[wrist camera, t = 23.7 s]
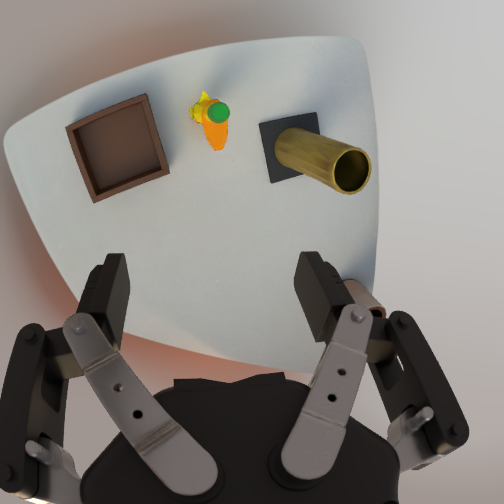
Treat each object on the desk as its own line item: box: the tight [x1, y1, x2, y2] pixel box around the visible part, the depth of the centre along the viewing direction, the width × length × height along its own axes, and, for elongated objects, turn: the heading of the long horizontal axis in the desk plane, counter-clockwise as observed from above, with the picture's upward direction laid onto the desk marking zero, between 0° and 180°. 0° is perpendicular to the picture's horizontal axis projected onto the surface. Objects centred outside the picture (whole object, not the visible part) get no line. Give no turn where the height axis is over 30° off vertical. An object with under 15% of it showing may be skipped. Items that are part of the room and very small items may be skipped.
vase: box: [275, 127, 371, 195], centre depth 34 cm, size 6×6×14 cm
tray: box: [65, 93, 170, 203], centre depth 31 cm, size 11×11×3 cm
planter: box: [343, 280, 386, 318], centre depth 56 cm, size 11×11×10 cm
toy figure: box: [190, 91, 230, 151], centre depth 29 cm, size 7×4×12 cm, turn 6°
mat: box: [259, 112, 320, 183], centre depth 40 cm, size 9×9×1 cm
